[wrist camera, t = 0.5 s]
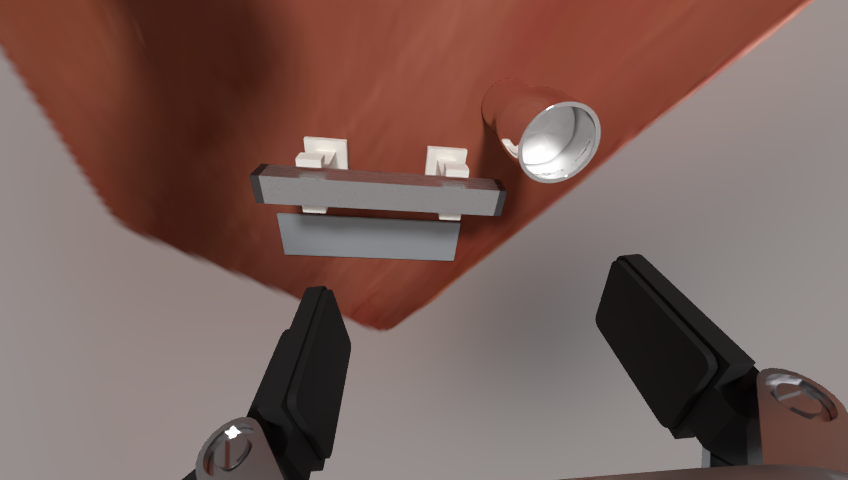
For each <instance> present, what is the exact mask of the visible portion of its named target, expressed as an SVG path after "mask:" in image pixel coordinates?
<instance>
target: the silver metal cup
mask: <svg viewBox="0 0 848 480" xmlns="http://www.w3.org/2000/svg"><path fill="white" fill-rule="evenodd" d="M482 114H483V118H484V121H485V122H486V124H487V125H488V126H489V127H490V128H491V129H492V130H494V131H496V132H497V135H498V139H499V141H500V144H501V146H502V148H503V150H504V151H505V153H506V154H507V156H508V157H509V158H510V159H511V160H512V161H513V162H514V163H515V164H516V165H517V166H518V167H519V168H520V169H521V170H522V171H524V172H525V173H526V174H527V175H528V176H529V177H530V178H532V179H533V180H535V181H538V182H542V183H555V182H560V181H563V180H566V179H568V178H570V177H572V176H574V175H575V174H577V173H578V172H580V171H581V170H582V169H583V168H584V167H585V166H586V165H587V164H588V163H589V162H590V160H591V159H592V157H593V156H594V154H595V152H596V150H597V148H598V145H599V142H600V136H601V127H600V122H599V119H598V117H597V115H596V113H595V112H594V111H593V110H592V109H591V108H590V107H589V106H587V105H585V104H583V103H581V102H580V101H578V100H577V99H575V98H574V97H572V96H570V95H568V94H566V93H564V92H562V91H560V90H556V89H553V88H549V87H529V86H528V85H527V84H526V83H525V82H524V81H522V80H520V79H518V78H505V79H502V80H500V81H498V82H497V83H495V84H494V85H493V86H492V87H491V88H490V89H489V90H488V92H487V93H486V95H485V97H484V100H483V104H482Z"/></svg>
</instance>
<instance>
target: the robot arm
mask: <svg viewBox="0 0 848 480" xmlns="http://www.w3.org/2000/svg"><path fill="white" fill-rule="evenodd" d="M596 324H597V327H598V328H599V330H600V332H601V333H602V334H603V336H604V338H605V339H606V341H607V342H608V344H609V345H610V347H611V348H612V350H613V352H614V353H615V355H616V356H617V358H618V359H619V361H620V362H621V364H622V365H623V367H624V369H625V370H626V372H627V373H628V375H629V376H630V378H631V379H632V381H633V382H634V384H635V386H636V387H637V389H638V390H639V392H640V393H641V395H642V396H643V398H644V399H645V401H646V403H647V404H648V405H649V407H650V409H651V410H652V412H653V413H654V415H655V416H656V418H657V419H658V421H659V422H660V424H661V425H662V426H664V427H666V428H668V429H669V430H670V432H671V433H672V435H673V436H674V438H675V439H681V438H692V437H695V436H696V437H697V439H698V440H699V442H700V443H701V444H702V446H703V447H702V465H701V468H694V469H681V470H669V471H656V472H645V473H633V474H620V475H608V476H597V477H596V476H595V477H584V478H573V479H562V480H848V413H847V411H846V409H845V407H844V405H843V404H842V403H841V402H840V401H839V400H838V399H837V398H836V397H835V395H833V394H832V393H831V392H829V391H828V390H827V389H826V388H824V387H823V386H821V385H820V384H818V383H816V382H815V381H813V380H811V379H809V378H807V377H805V376H803V375H800V374H798V373H796V372H792V371H788V370H785V369H778V368H768V369H763V370H762V371H761V372H759V371H758V370H757V369H756V368H755V367H754V366H753V365H754V364H755V361H754V360H752V359H751V358H750V357H749V356H748V355H747V354H746V353H745V352H744V351H743V350H742V349H741V348H740V347H739V346H738V345H737V344H735V343H734V342H733V341H732V340H731V339H730V338H729V337H728V336H727V335H726V334H725V333H724V332H723V331H722V330H721V329H719V327H718V326H716V325H715V324H714V323H713V322H712V321H711V320H710V319H709V318H708V317H707V316H706V315H705V314H704V313H703V312H702V311H700V310H699V309H698V308H697V307H696V306H695V305H694V304H693V303H692V302H691V301H690V300H689V299H688V298H687V297H686V296H685V295H684V294H683V293H681V292H680V291H679V290H678V289H677V288H676V287H675V286H674V285H673V284H672V283H671V282H670V281H669V280H667V278H665V277H664V276H663V275H662V274H661V273H660V272H659V271H658V270H657V269H656V268H655V267H654V266H653V265H652V264H651V263H650V262H648V261H647V260H646V259H645V258H644V257H643V256H642V255H640V254H634V255H624V256H619V257H618V258H617V260H616V261H614V262H613V263H612V265H611V268H610V271H609V275H608V278H607V281H606V284H605V288H604V291H603V294H602V297H601V301H600V304H599V308H598V311H597V314H596ZM350 352H351V342H350V339H349V336H348V333H347V330H346V328H345V325H344V322H343V319H342V316H341V313H340V311H339V308H338V305H337V302H336V299H335V297H334V294H333V291H332V290H327V288H326V287H325V286H319V287H309V288H307V289H306V290H305V293H304V295H303V297H302V300H301V302H300V305H299V308H298V310H297V312H296V315H295V317H294V319H293V322H292V325H291V327H290V329H287V330H285V331H284V332H283V333H282V335H281V337H280V339H279V342H278V344H277V346H276V349H275V351H274V353H273V356H272V358H271V360H270V363H269V365H268V368H267V370H266V372H265V375H264V377H263V379H262V381H261V384H260V386H259V388H258V391H257V393H256V396H255V398H254V400H253V402H252V405H251V407H250V410H249V412H248V414H247V417H241V418H237V419H234V420H231V421H230V422H228V423H226V424H224V425H222V426H221V427H220V428H219V429H218V430H216V431H215V432H214V433H213V434H212V435H211V436H210V437H209V439H208V440H207V441H206V442H205V443H204V445H203V447H202V449H201V450H200V452H199V454H198V458H197V461H196V469H194V470H193V471H192V472H191V473H189V474H188V475H187V476H186V477H185V478H183V479H182V480H309V478H310V473H311V471H321V470H323V467H324V462H325V459H326V458H330V456H331V453H332V449H333V444H334V439H335V433H336V428H337V422H338V417H339V412H340V406H341V400H342V395H343V390H344V385H345V379H346V374H347V368H348V363H349V357H350Z"/></svg>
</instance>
